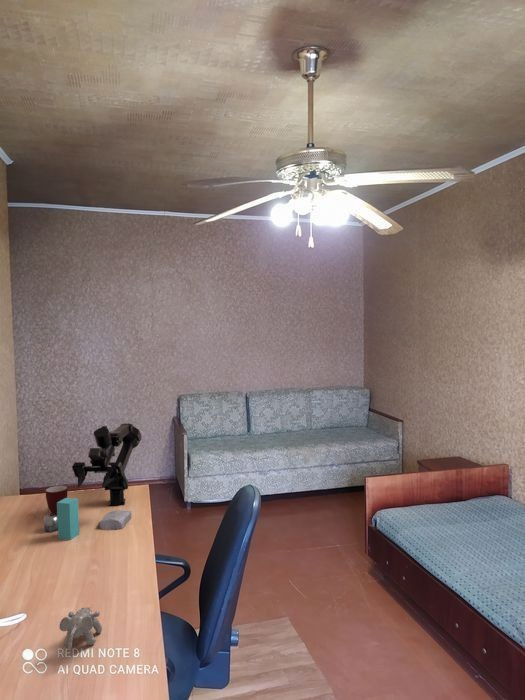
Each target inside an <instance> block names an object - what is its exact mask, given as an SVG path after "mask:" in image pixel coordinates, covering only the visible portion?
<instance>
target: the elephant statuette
mask: <svg viewBox="0 0 525 700" xmlns="http://www.w3.org/2000/svg"><path fill="white" fill-rule="evenodd" d="M92 612H93V611H92V609H91V607H86V608H85V607H82V608H80V609H78V610H77V611H76V613H74V611H69V612H68V614H67V616H65V617H63V618H62V619H61V620H60V621H59V626H58V627H59V630H60V631H61V632H66V638H65V639H64V641H63V644H65V646H67V647H68V649H69V650H71V649H72V647H73V641H74V639H76V638H77V639H78V638H79V637H81V636H83V637H84V639H85V644H86V645H87V646H92V645H94V644H96V641H97V639H96V638H95V636H94V634H93V630H92V629H94V630H95V633H96V634H99V635H100V634H101V633H102V631H103V626H102V624H101V623H100V621H99V619H97V618H98V617H100V614H101V613H100V611H99V610H96V611H94V613H92Z"/></svg>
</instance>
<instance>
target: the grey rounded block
mask: <svg viewBox="0 0 525 700" xmlns="http://www.w3.org/2000/svg"><path fill="white" fill-rule="evenodd" d="M43 521H44V522H43V524H44V533H47V534H50V533H51V534H52V533H55V532H58V519H57V514H52V513H51V514H47V515H45V516H44V517H43Z"/></svg>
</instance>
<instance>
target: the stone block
mask: <svg viewBox="0 0 525 700" xmlns="http://www.w3.org/2000/svg"><path fill="white" fill-rule="evenodd" d="M131 519H132V510H131V509H130V510H128V509H127V510H126V509H115V510H111V511H109V512H107V513H106V514H105V515H104V516H103V517H102V519H100V521H99V527H100V529H101V530H105V531H107V530H109V529H110V530H124V528H125V527H126V526H127V524H128V523H129V521H130V520H131Z"/></svg>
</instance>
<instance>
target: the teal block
mask: <svg viewBox="0 0 525 700" xmlns="http://www.w3.org/2000/svg"><path fill="white" fill-rule="evenodd" d="M57 519H58V531H57V536H58V537H57V538H58V540H64V539H65V541H66V540H67V541H72V540H73V539H75V538H77V536H79V535H80V522H79V521H80V519H79V499H78V498H73V497H72V498H71V497H67V498H65V499H63V500H61V501H59V502H57Z"/></svg>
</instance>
